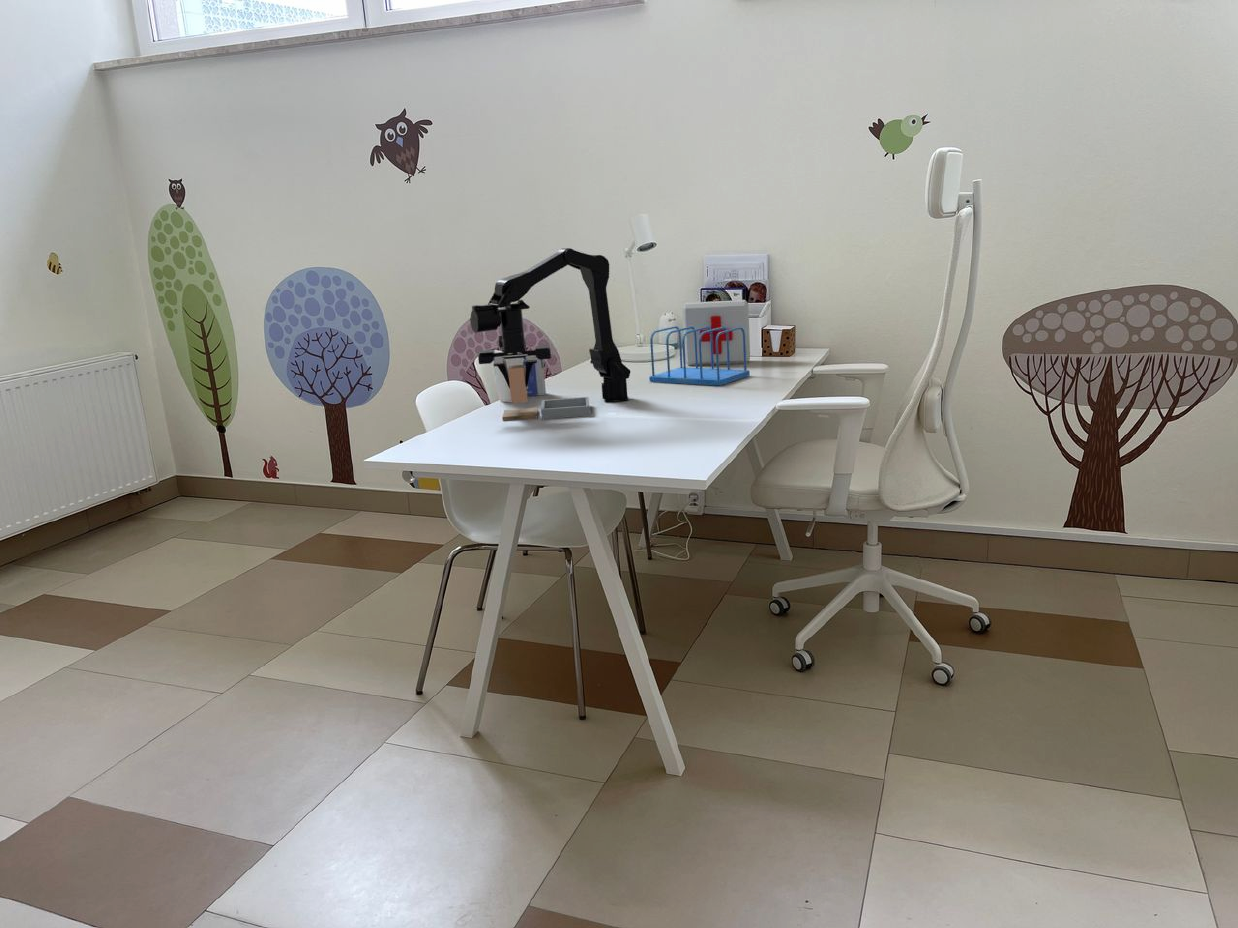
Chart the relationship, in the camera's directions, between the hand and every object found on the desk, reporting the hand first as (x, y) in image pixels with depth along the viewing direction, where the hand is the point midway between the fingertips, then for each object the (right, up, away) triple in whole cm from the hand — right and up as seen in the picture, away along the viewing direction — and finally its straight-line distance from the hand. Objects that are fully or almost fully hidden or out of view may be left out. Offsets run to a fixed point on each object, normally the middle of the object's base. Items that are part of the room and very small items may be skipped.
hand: (518, 387), depth 247 cm
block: (0, -3, +1) cm, 4 cm away
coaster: (0, -7, +2) cm, 8 cm away
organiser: (+12, -6, +2) cm, 14 cm away
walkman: (+1, 0, +30) cm, 30 cm away
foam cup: (-5, -2, +25) cm, 26 cm away
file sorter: (+51, +5, +36) cm, 63 cm away
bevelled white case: (+59, +13, +61) cm, 86 cm away
